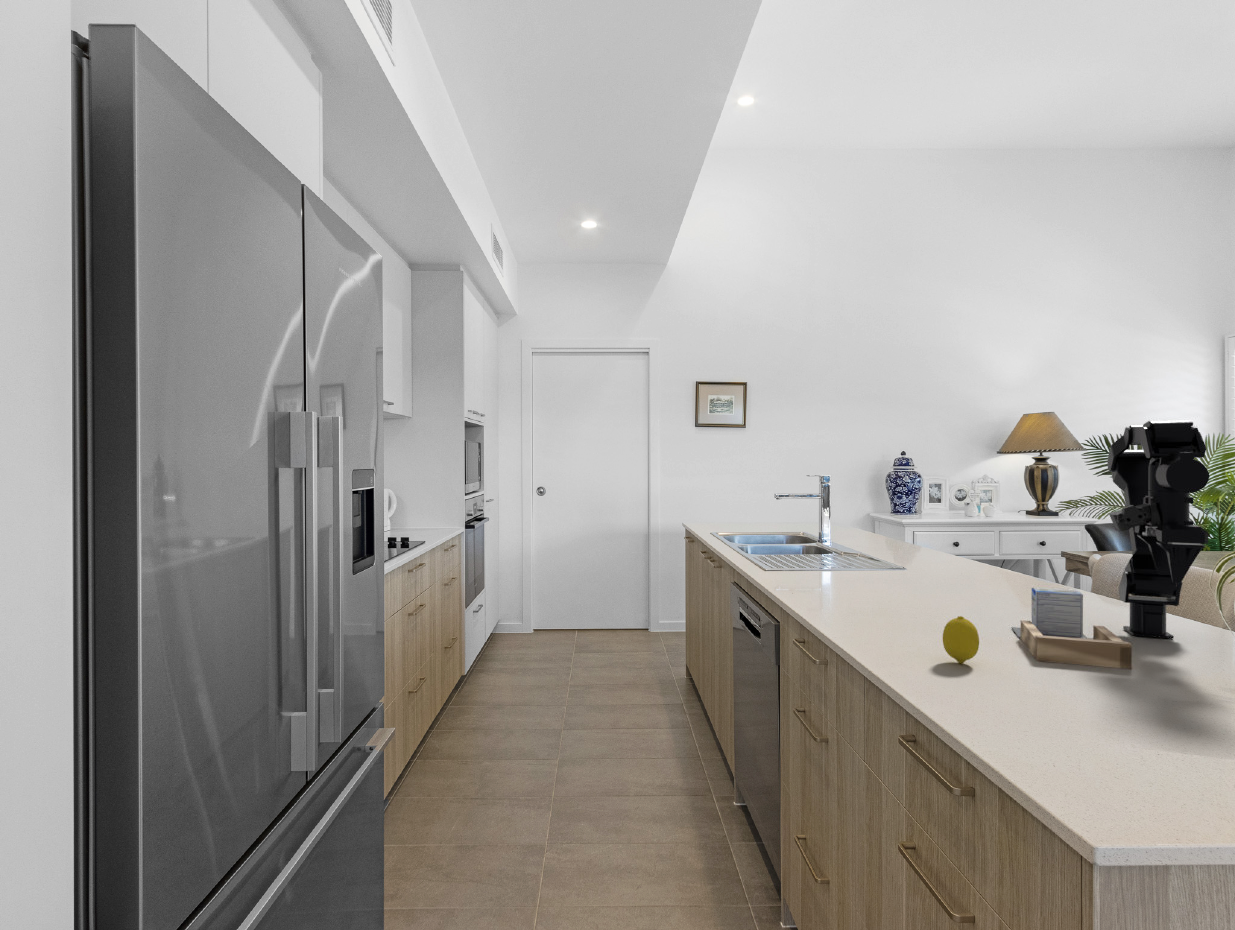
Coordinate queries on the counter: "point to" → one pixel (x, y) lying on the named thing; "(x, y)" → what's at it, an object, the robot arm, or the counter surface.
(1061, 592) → the medicine box
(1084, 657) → the dispenser rack
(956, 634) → the lemon
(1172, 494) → the robot arm
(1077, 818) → the counter surface
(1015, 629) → the mat
